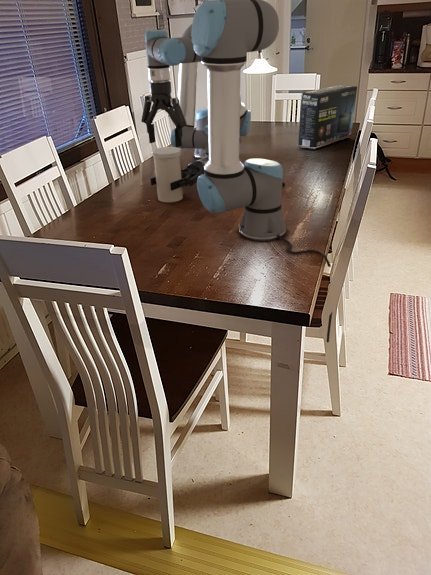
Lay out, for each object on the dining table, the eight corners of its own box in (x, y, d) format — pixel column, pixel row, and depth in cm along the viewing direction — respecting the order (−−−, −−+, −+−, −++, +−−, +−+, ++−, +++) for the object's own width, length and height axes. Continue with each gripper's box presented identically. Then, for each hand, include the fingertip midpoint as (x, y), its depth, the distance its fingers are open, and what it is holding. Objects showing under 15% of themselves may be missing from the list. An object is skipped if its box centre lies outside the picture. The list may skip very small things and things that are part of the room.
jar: (186, 194, 184) (183, 148, 174) (178, 203, 175) (174, 155, 166) (163, 192, 186) (158, 147, 177) (154, 201, 178) (149, 154, 168)
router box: (314, 151, 231) (318, 94, 217) (296, 148, 237) (299, 92, 224) (352, 138, 251) (358, 85, 238) (335, 135, 258) (340, 83, 245)
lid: (184, 151, 175) (184, 147, 174) (175, 159, 166) (174, 154, 165) (158, 150, 178) (158, 146, 177) (147, 158, 169) (147, 153, 168)
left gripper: (221, 183, 185) (183, 199, 170) (180, 174, 197) (142, 188, 183) (220, 164, 181) (182, 179, 166) (178, 156, 193) (139, 169, 179)
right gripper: (126, 80, 162) (134, 142, 173) (181, 84, 150) (185, 150, 162) (141, 78, 167) (147, 138, 179) (194, 81, 156) (197, 145, 167)
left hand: (161, 184), depth 174 cm, fingers closed on jar, 10 cm apart
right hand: (165, 144), depth 170 cm, fingers open, 12 cm apart
